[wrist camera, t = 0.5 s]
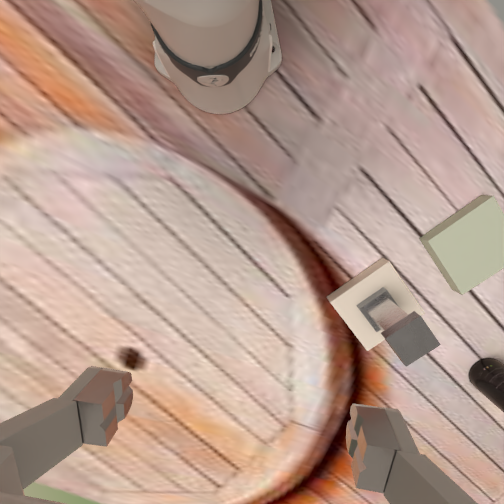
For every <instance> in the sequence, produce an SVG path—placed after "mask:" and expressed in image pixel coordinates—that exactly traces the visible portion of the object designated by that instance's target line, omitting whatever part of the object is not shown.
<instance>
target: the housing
mask: <svg viewBox="0 0 504 504" xmlns="http://www.w3.org/2000/svg"><path fill="white" fill-rule="evenodd" d="M356 306H357V307H358V309H359V310H360V311H361V313H362V314H363V315H364V317H365V318H366V319H367V321H368V322H369V323H370V325H371V326H372V327H373V329H374V330H375V331H376V332H378V331H380V330H381V331H382V333H381V334H382V336H383V337H384V338H385V340H386V341H387V342H388V344H389V345H390V347H391V348H392V349H393V351H394V352H395V353H396V355H397V356H398V357H399V359H400V360H401V361H402V362H403V364H404V365H405V366H408V365H409V364H411V363H412V362H414V361H416V360H417V359H419V358H420V357H422V356H423V355H425V354H427V353H428V352H430V351H431V350H433V349H435V348H436V347H438V346H439V345H440V343H439V342H438V340H437V339H436V338H435V336H434V335H433V333H432V332H431V330H430V329H429V327H428V326H427V325H426V323H425V322H424V320H423V319H422V317H421V316H420V315H419V314H417V313H416V312H415V311H413V312H412V313H410V314H409V315H408V314H407V313H406V312H404V311H403V310H402V309H401V308H400V307H399V306H398V305H397V303H396V302H395V301H394V299H393V298H392V296H391V295H390V293H389V292H388V291H387V290H386V289H385V288H384V287H382V288H381V289H379V290H378V291H377V292H375V293H374V294H372V295H371V296H369V297H368V298H366V299H365V300H363V301H362V302H360V303H359V304H358V305H356Z"/></svg>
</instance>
